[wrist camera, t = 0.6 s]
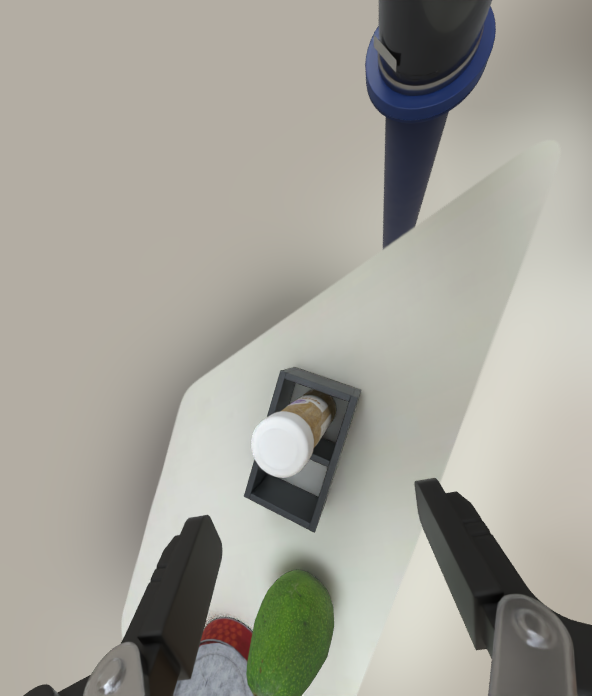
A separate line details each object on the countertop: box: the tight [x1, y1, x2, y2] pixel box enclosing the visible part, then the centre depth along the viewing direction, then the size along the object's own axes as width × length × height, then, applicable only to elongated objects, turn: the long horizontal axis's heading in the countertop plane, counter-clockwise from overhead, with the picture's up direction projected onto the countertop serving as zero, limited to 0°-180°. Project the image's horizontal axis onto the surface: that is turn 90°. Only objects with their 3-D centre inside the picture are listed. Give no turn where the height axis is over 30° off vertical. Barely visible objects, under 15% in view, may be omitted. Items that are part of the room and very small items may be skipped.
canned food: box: [173, 617, 253, 696], centre depth 34 cm, size 11×10×10 cm
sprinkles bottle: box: [251, 390, 336, 478], centre depth 27 cm, size 5×5×13 cm
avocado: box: [246, 570, 334, 696], centre depth 28 cm, size 8×8×12 cm
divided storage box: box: [244, 367, 361, 533], centre depth 31 cm, size 14×8×5 cm, turn 163°
